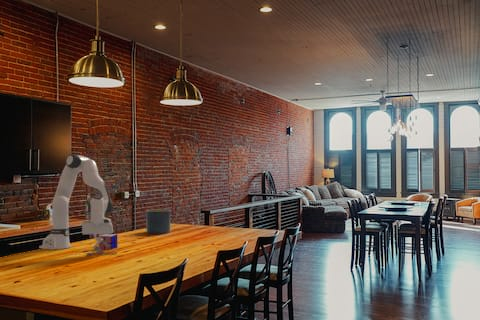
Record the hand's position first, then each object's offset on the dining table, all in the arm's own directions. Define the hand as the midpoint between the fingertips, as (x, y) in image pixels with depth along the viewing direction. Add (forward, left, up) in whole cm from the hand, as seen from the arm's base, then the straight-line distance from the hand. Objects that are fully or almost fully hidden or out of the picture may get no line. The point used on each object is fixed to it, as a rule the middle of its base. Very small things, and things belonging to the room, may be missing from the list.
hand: (97, 240), depth 304 cm
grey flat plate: (+2, +1, -10) cm, 10 cm away
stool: (+4, +3, -7) cm, 8 cm away
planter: (-10, +103, -10) cm, 104 cm away
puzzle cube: (-6, +20, -10) cm, 23 cm away
